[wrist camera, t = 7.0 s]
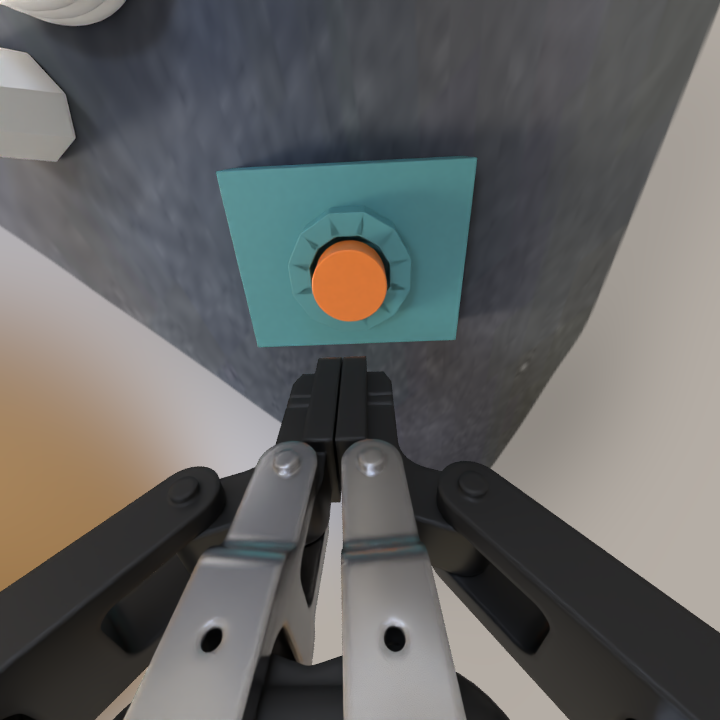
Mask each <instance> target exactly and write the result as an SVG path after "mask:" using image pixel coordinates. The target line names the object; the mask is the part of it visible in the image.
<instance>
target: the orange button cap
mask: <svg viewBox="0 0 720 720" xmlns="http://www.w3.org/2000/svg"><path fill="white" fill-rule="evenodd" d="M312 291H313V295H314V298H315V300H316V302H317V304H318V305H319V307H320V308H321V309H322V310H323V311H324V312H325V313H327V314H328V315H329V316H331V317H333V318H335V319H338V320H342V321H358V320H362V319H365V318H367V317H369V316H371V315H372V314H373V313H375V312H376V311H377V310H378V309H379V308H380V306H381V305H382V303H383V301H384V299H385V296H386V292H387V279H386V274H385V268H384V264H383V262H382V259H381V258H380V256H379V255H378V253H377V252H376V251H375V250H374V249H373V248H372V247H370V246H369V245H367V244H365V243H363V242H360V241H355V240H344V241H340V242H337V243H335V244H333V245H331V246H330V247H328V248H327V249H326V250H325V251H324V252H323V254H322V255H321V256H320V258H319V260H318V263H317V266H316V268H315V271H314V274H313V278H312Z"/></svg>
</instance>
